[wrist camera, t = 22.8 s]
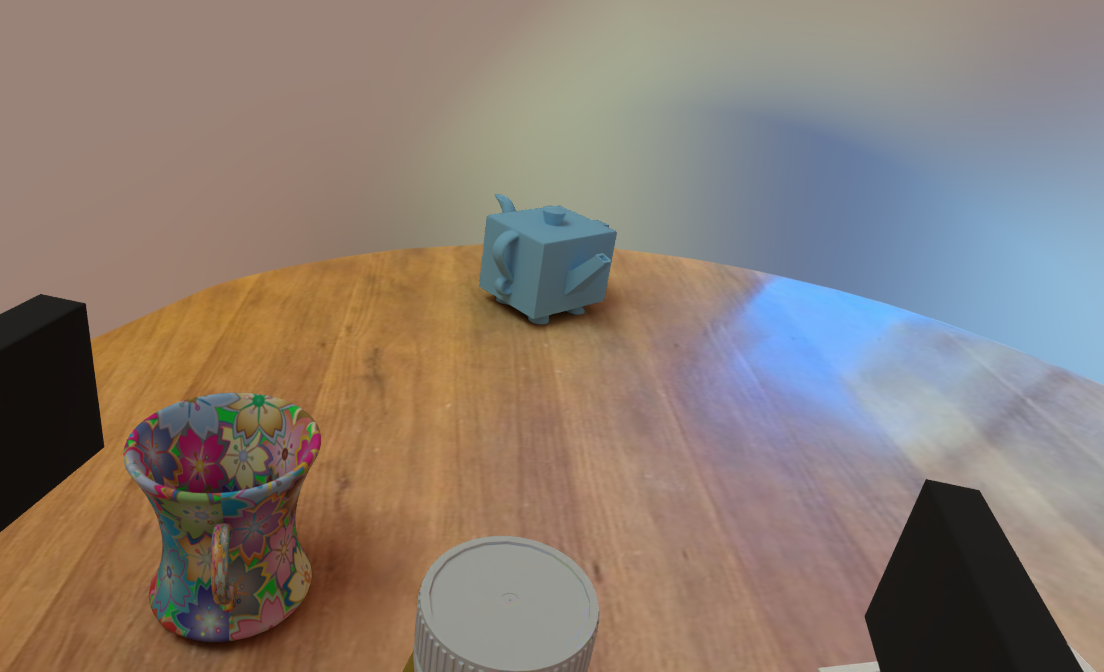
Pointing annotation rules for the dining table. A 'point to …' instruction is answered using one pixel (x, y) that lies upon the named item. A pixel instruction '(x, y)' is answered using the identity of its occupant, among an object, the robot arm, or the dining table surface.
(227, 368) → the dining table surface
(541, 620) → the bottle
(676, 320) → the dining table surface
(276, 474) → the mug
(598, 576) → the dining table surface
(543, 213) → the teapot
